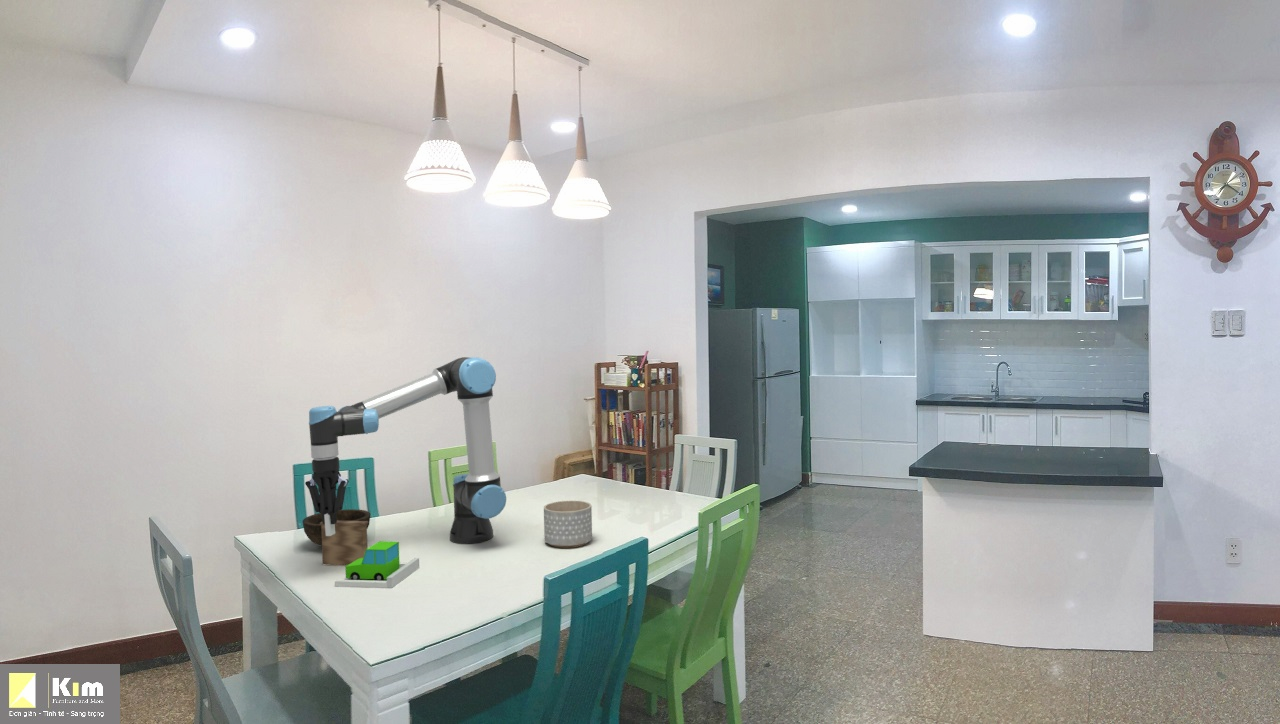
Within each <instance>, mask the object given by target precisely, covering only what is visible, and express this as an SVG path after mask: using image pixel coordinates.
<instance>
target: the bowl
mask: <svg viewBox="0 0 1280 724" xmlns="http://www.w3.org/2000/svg"><path fill="white" fill-rule="evenodd" d="M328 513H329V512H328ZM336 516H337V521H368V524H367V530H368V528H369V526H370V523H371V522H370V521H371V512H369V511H368V510H363V509H342V510H340V511H338V512H337V513H336ZM320 522H322V514H321V513H319V512H317V513H314V514H311V515H309V516H306V517H304V518H303V520H302V525H303V526H302V527H303V532H304V533H305V536H306V538H308V540H310V542H312V543H314V544H316V545H317V546H321V547H322V531H321V525H320Z"/></svg>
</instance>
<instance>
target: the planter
mask: <svg viewBox="0 0 1280 724" xmlns="http://www.w3.org/2000/svg"><path fill="white" fill-rule="evenodd" d="M592 514H593V513H592V504H591V503H590V502H587V501H584V500H583V501H582V500H561V501H559V500H558V501H554V502H550V503H547V504H545V505H544V506H543V528H544V529H543V531H544V535H543V537H544V542H545V543H546V544H548V545H550V546H551V547H555V548H561V549H562V548H563V549H568V548H569V549H570V548H579V547H582V546H584V545H586V544H587V543H589V542H590V541H592V539H593V519H592V517H593V516H592Z"/></svg>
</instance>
